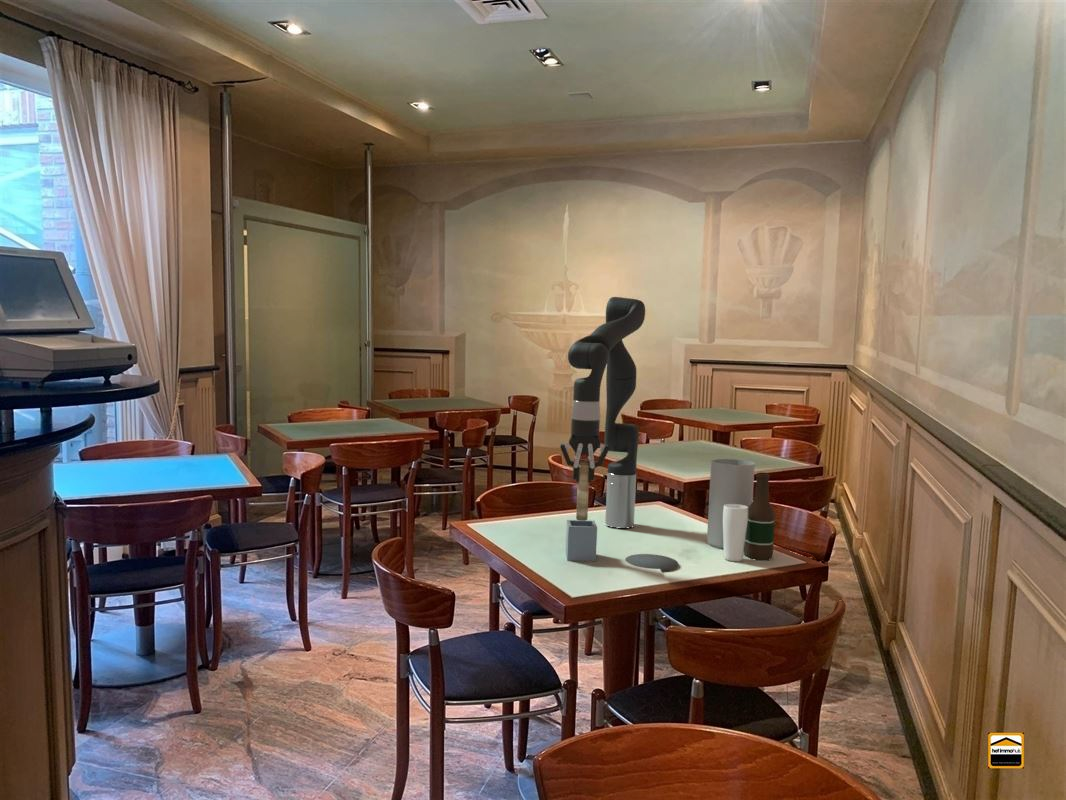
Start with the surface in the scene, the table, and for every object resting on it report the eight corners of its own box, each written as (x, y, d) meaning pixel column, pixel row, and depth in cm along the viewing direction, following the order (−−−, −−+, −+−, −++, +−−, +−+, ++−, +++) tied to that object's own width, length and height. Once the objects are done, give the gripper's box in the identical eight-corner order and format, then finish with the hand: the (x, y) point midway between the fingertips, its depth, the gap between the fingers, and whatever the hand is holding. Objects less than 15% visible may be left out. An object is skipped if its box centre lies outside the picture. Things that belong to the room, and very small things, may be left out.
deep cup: (565, 555, 215) (566, 519, 214) (592, 556, 215) (594, 520, 214) (567, 563, 207) (568, 526, 206) (595, 564, 207) (597, 527, 206)
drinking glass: (715, 556, 219) (718, 504, 218) (736, 555, 221) (738, 503, 220) (729, 563, 212) (732, 509, 211) (750, 561, 215) (753, 508, 214)
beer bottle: (759, 562, 215) (764, 476, 213) (738, 555, 221) (742, 471, 219) (778, 559, 219) (783, 474, 217) (757, 552, 225) (761, 470, 224)
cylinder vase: (755, 551, 227) (760, 466, 225) (712, 549, 227) (716, 464, 225) (743, 540, 239) (747, 459, 237) (702, 538, 239) (706, 458, 237)
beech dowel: (575, 517, 212) (577, 459, 210) (586, 518, 212) (589, 459, 210) (576, 520, 209) (578, 461, 207) (588, 520, 209) (590, 461, 207)
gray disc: (622, 556, 216) (622, 553, 216) (672, 557, 216) (672, 554, 216) (629, 571, 202) (629, 567, 202) (682, 572, 202) (683, 569, 202)
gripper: (610, 417, 212) (607, 479, 213) (558, 415, 211) (556, 478, 213) (613, 420, 204) (610, 485, 206) (560, 418, 204) (557, 483, 205)
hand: (583, 481), depth 209 cm, fingers closed on beech dowel, 3 cm apart
